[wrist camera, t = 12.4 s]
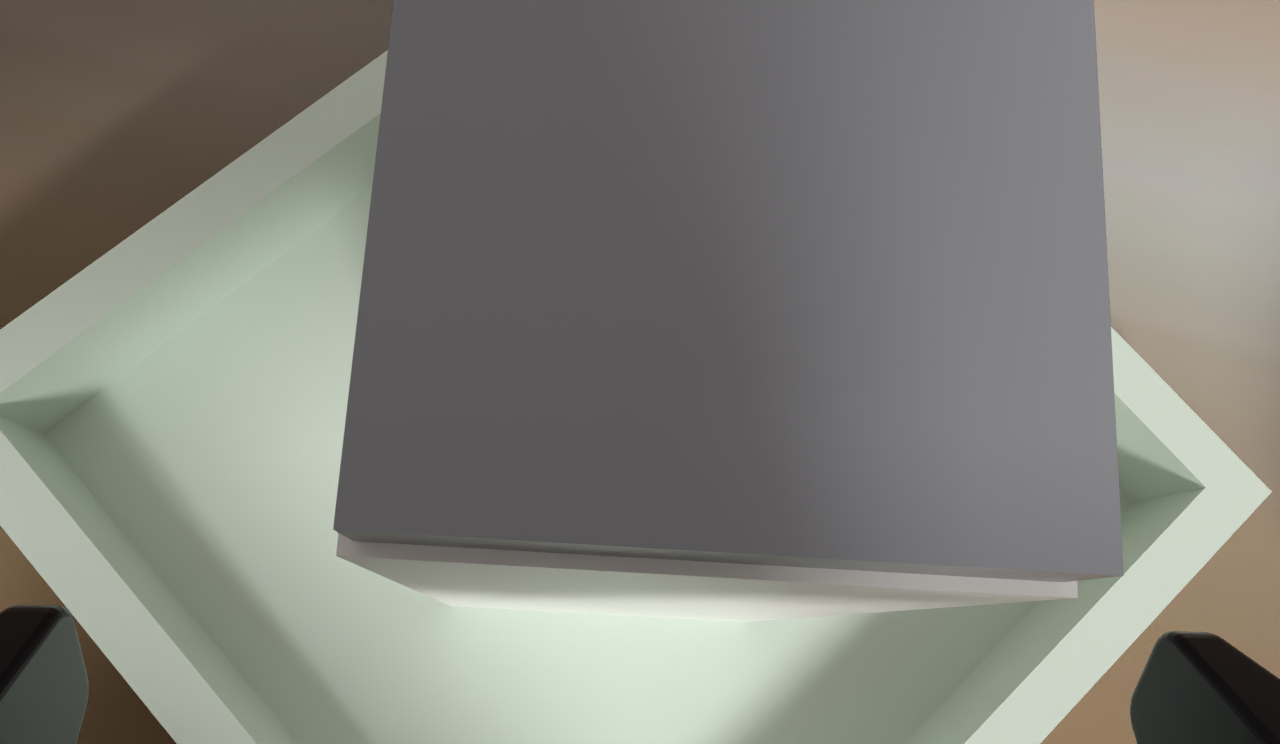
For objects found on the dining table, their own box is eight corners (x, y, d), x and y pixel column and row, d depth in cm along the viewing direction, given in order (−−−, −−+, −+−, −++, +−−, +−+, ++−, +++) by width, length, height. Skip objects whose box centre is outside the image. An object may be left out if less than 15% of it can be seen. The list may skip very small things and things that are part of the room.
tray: (571, 1148, 17) (580, 1243, 15) (-11, 435, 19) (-100, 401, 16) (1174, 510, 21) (1271, 491, 18) (638, -49, 22) (654, -143, 20)
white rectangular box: (746, 621, 19) (1139, 594, 7) (450, 605, 19) (312, 545, 6) (754, 338, 20) (1101, -112, 8) (476, 317, 20) (401, -192, 8)
